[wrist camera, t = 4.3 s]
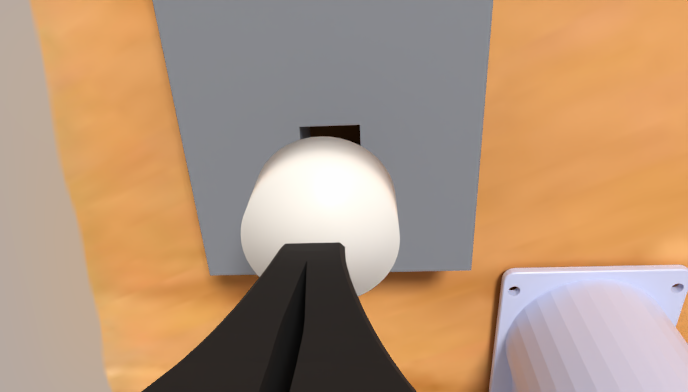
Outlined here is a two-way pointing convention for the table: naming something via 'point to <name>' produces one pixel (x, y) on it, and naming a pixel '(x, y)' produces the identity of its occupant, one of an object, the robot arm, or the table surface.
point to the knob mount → (333, 106)
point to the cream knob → (325, 207)
